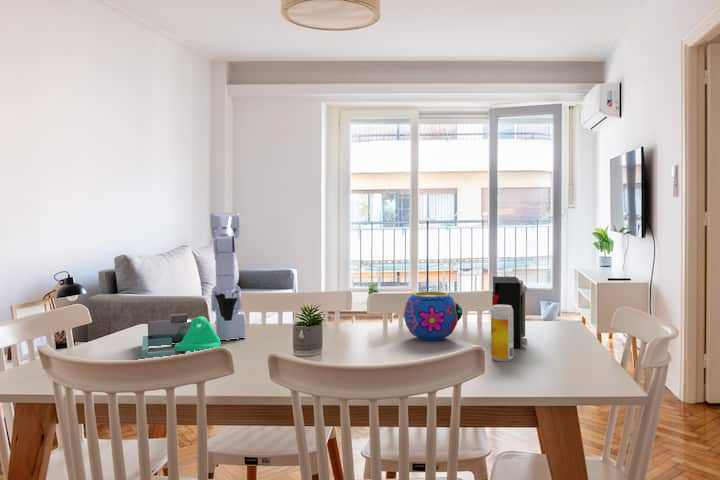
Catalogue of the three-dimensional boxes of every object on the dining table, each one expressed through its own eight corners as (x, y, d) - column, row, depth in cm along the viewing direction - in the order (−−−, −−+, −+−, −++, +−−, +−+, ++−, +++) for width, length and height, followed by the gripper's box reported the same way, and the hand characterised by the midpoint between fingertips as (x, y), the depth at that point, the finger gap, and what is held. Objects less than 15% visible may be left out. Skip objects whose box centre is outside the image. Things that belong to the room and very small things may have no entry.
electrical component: (527, 349, 168) (527, 283, 168) (492, 348, 171) (492, 282, 170) (522, 337, 186) (522, 276, 185) (491, 336, 188) (490, 276, 187)
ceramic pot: (468, 342, 179) (468, 295, 178) (417, 347, 173) (416, 298, 173) (444, 332, 195) (443, 289, 195) (396, 336, 190) (395, 291, 189)
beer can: (497, 355, 162) (496, 303, 161) (517, 358, 158) (516, 305, 157) (487, 359, 157) (487, 306, 156) (507, 363, 153) (507, 308, 152)
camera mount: (173, 354, 169) (172, 320, 169) (183, 348, 177) (182, 316, 176) (212, 354, 168) (211, 320, 168) (220, 348, 176) (219, 316, 175)
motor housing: (199, 339, 189) (198, 311, 189) (201, 344, 182) (200, 315, 181) (148, 343, 184) (147, 314, 183) (148, 348, 176) (147, 318, 176)
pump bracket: (171, 346, 180) (171, 333, 179) (174, 361, 160) (173, 347, 160) (143, 348, 177) (142, 336, 176) (142, 364, 157) (141, 350, 157)
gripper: (209, 273, 180) (210, 315, 180) (214, 277, 166) (215, 323, 167) (232, 272, 182) (233, 314, 183) (238, 276, 169) (239, 321, 169)
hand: (226, 318), depth 175 cm, fingers open, 7 cm apart
